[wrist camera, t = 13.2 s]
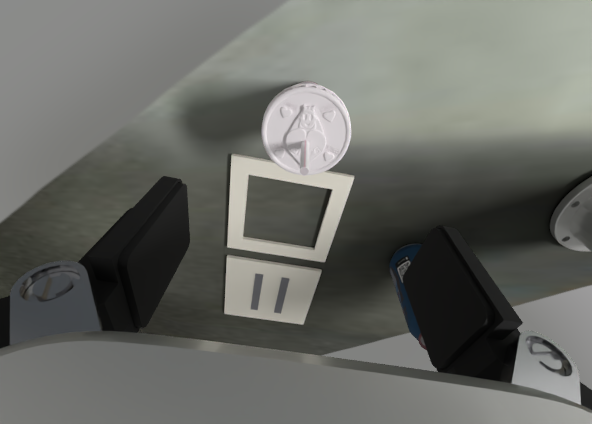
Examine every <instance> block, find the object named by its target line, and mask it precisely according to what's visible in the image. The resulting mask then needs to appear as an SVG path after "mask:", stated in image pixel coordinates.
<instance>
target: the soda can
mask: <svg viewBox="0 0 592 424" xmlns="http://www.w3.org/2000/svg"><path fill="white" fill-rule="evenodd" d="M421 246H422V244H409V245H406V246H403V247H401V248H400V249H398V250H397V251H396V252H395V253H394V255H393V257H392V259H391V262H390V265H389V270H390V273H391V276H392V279H393V282H394V285H395V288H396V291H397V295H398V298H399V301H400V304H401V307H402V310H403V313H404V316H405V319H406V322H407V325H408V328H409V331H410V332H411V334H412V335H413V336H414V337H415V338H416V339H417V340H418V341H419V344H420V345H421V347H423V348H424V349H426V346H425V343H424V340H423V338H422V335H421V332H420V329H419V326H418V324H417V321H416V318H415V315H414V312H413V310H412V307H411V304H410V301H409V298H408V295H407V293H406V290H405V287H404V284H403V275H404V273H405V272H406V270H407V268H408V267H409V265H410V264H411V262H412V260H413V259H414V257H415V255H416V254H417V252H418V251H419V249H420V247H421ZM426 350H427V349H426Z"/></svg>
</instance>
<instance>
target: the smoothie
mask: <svg viewBox="0 0 592 424" xmlns="http://www.w3.org/2000/svg"><path fill="white" fill-rule="evenodd" d="M261 135H262V141H263V145H264V148H265V150H266V152H267V154H268V155H269V157H270V158H271V159H272V160H273V162H274V163H275V164H277V165H278V166H279V167H280V168H282V169H284V170H286V171H288V172H290V173H293V174H297V175H303V176H305V175H315V174H319V173H322V172H324V171H326V170H328V169H330V168H332V167H333V166H334V165H335V164H337V163H338V162H339V161H340V160H341V158H342V157H343V156H344V154H345V152H346V151H347V148H348V146H349V143H350V139H351V122H350V118H349V113H348V110H347V109H346V107H345V105H344V103H343V101H342V100H341V99H340V98H339V97H338V96H337V95H336V94H335V93H334V92H333V91H331V90H329V89H327V88H325V87H324V86H320V85H318V84H316V83H314V82H311V81H304V82H301V83H299V84H296V85H294V86H291V87H288V88H285V89H284V90H283V91H281V92H280V93H279V94H277V95H276V96H275V97H274V98H273V100H272V101H271V102H270V103H269V105H268V106H267V109H266V111H265V114H264V116H263V122H262V128H261Z"/></svg>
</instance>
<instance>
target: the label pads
mask: <svg viewBox="0 0 592 424" xmlns="http://www.w3.org/2000/svg"><path fill="white" fill-rule="evenodd" d="M249 175H254V176H260V177H266V178H271V179H277V180H282V181H288V182H294V183H299V184H305V185H311V186H316V187H322V188H328V189H332V191H331V194H330V197H329V201H328V204H327V207H326V211H325V214H324V217H323V221H322V224H321V227H320V230H319V234H318V237H317V240H316V244H315V247H314V248H312V247H306V246H299V245H293V244H287V243H281V242H274V241H268V240H262V239H256V238H249V237H243V233H244V222H245V211H246V200H247V188H248V177H249ZM353 180H354V175H348V174H343V173H337V172H332V171H324V172H322V173H319V174H315V175H305V176H303V175H297V174H293V173H290V172H288V171H286V170H284V169H282V168H280V167H279V166H278V165H277V164H275V163H274V162H273V161H271V160H266V159H260V158H255V157H249V156H244V155H238V154H233V153H232V155H231V177H230V198H229V220H228V242H227V247H229V248H235V249H242V250H248V251H255V252H261V253H267V254H274V255H280V256H287V257H293V258H299V259H306V260H312V261H319V262H325V261H326V258H327V255H328V252H329V249H330V246H331V243H332V241H333V238H334V235H335V232H336V229H337V226H338V223H339V221H340V218H341V215H342V212H343V209H344V206H345V203H346V200H347V198H348V195H349V192H350V189H351V186H352V183H353ZM321 272H322V269H316V268H310V267H303V266H297V265H290V264H284V263H277V262H271V261H264V260H258V259H251V258H245V257H238V256H232V255H227V264H226V286H225V308H224V314H229V315H236V316H244V317H251V318H258V319H265V320H273V321H280V322H287V323H295V324H302V325H303V324H304V321H305V318H306V315H307V312H308V310H309V307H310V304H311V301H312V298H313V295H314V292H315V289H316V287H317V284H318V281H319V278H320V275H321Z"/></svg>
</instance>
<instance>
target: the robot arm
mask: <svg viewBox="0 0 592 424" xmlns="http://www.w3.org/2000/svg"><path fill="white" fill-rule="evenodd" d="M550 232H551V234H552V236H553V237H554V238H555V239H556V240H557V241H558V242H559V243H560V244H561V245H563V246H564V247H566V248H569V249H571V250H577V251H592V176H591V177H590V178H588V179H587V180H585V181H584V182H582V183H581V184H579V185H578V186H577V187H575V188H574V189H573V190H572V191H570V192H569V193H568V194H567V195H566V196H565V197H564V198H563V200H562V201H561V202H560V203H559V205H558V206H557V207H556V209H555V211H554V213H553V215H552V217H551V221H550ZM189 243H190V233H189V216H188V198H187V186H186V184H183V183H182V181H181V179H177V178H172V177H166V176H163V177H162V178H161V179H160V180H159V181H158V182H157V183H156V184H155V185H154V186H153V187H152V188H151V189H150V190H149V191H148V192H147V194H146V195H145V196H144V197H143V198H142V199H141V200H140V201H139V202H138V203H137V204H136V205H135V206H134V207H133V208H130V209H129V210H128V211H127V212H126V213H125V214H124V215H123V216H122V217H121V218H120V219H119V220H118V221H117V222H116V223H115V224H114V225H113V226H112V227H111V228H110V229H109V230H108V231H107V232H106V234H105V235H104V236H103V237H102V238H101V239H100V240H99V241H98V242H97V243H96V244H95V245H94V246H93V247H92V248H91V249H90V250H89V251H88V252H87V253H86V254H85V256H84V257H83V258H82V259H81V260H80V261H79V262H73V261H57V262H51V263H47V264H44V265H41V266H39V267H36V268H34V269H33V270H31V271H29V272H27V273H26V274H24V275H23V276H22V277H21V278H19V279H18V280H17V282H16V283H15V284H14V286H13V287H12V290H11V293H10V296H8V297H5V298H2V299H0V424H592V390H591V389H589V388H588V387H586V386H585V385H583V384H582V383H581V382H580V377H579V372H578V368H577V366H576V365H575V363H574V361H573V360H572V358H571V357H570V356H569V355H568V354H567V352H565V351H564V350H563V349H562V348H561V347H560V346H559V345H558V344H556V343H555V342H554V341H552V340H551V339H549V338H548V337H546V336H544V335H542V334H540V333H537V332H534V331H524V332H522V333H521V334H520V332H519V331H518V329H517V328H518V327H519V326H520V325H521V324H522V321H521V319H520V318H519V317H518V315H517V314H516V312H515V311H514V309H513V308H512V307H511V305H510V304H509V302H508V301H507V300H506V298H505V297H504V295H503V294H502V292H501V291H500V290H499V288H498V287H497V285H496V284H495V283H494V281H493V280H492V278H491V277H490V275H489V274H488V273H487V271H486V270H485V268H484V267H483V266H482V264H481V263H480V261H479V260H478V258H477V257H476V256H475V254H474V253H473V251H472V250H471V249H470V247H469V246H468V244H467V243H466V241H465V240H464V239H463V237H462V236H461V234H460V233H459V231H458V230H457V229H456V228H452V227H446V226H441V225H440V226H437V227H436V228H433V229H432V230H431V231H430V233H429V234H428V236H427V238H426V239H425V241H424V242H423V244H422V246H421V247H420V249H419V251H418V252H417V254H416V255H415V257H414V259H413V260H412V262H411V264H410V265H409V267H408V268H407V270H406V272H405V273H404V275H403V284H404V287H405V290H406V293H407V295H408V298H409V301H410V304H411V307H412V310H413V312H414V315H415V318H416V321H417V324H418V326H419V329H420V332H421V335H422V338H423V340H424V343H425V346H426V349H427V351H428V354H429V357H430V360H431V362H432V365H433V366H434V367H435V368H437V371H438V372H434V371H427V370H420V369H413V368H406V367H399V366H391V365H385V364H377V363H369V362H362V361H356V360H348V359H341V358H334V357H326V356H319V355H312V354H304V353H297V352H289V351H282V350H274V349H267V348H259V347H251V346H244V345H236V344H228V343H221V342H213V341H206V340H198V339H189V338H180V337H171V336H163V335H154V334H145V333H137V332H138V331H139V329H140V327H143V328H144V327H146V326H147V324H148V322H149V321H150V319H151V317H152V315H153V313H154V311H155V309H156V307H157V306H158V304H159V302H160V300H161V298H162V296H163V294H164V292H165V291H166V289H167V287H168V285H169V283H170V281H171V279H172V277H173V275H174V274H175V272H176V270H177V268H178V266H179V264H180V262H181V260H182V259H183V257H184V255H185V253H186V251H187V249H188V247H189Z"/></svg>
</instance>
